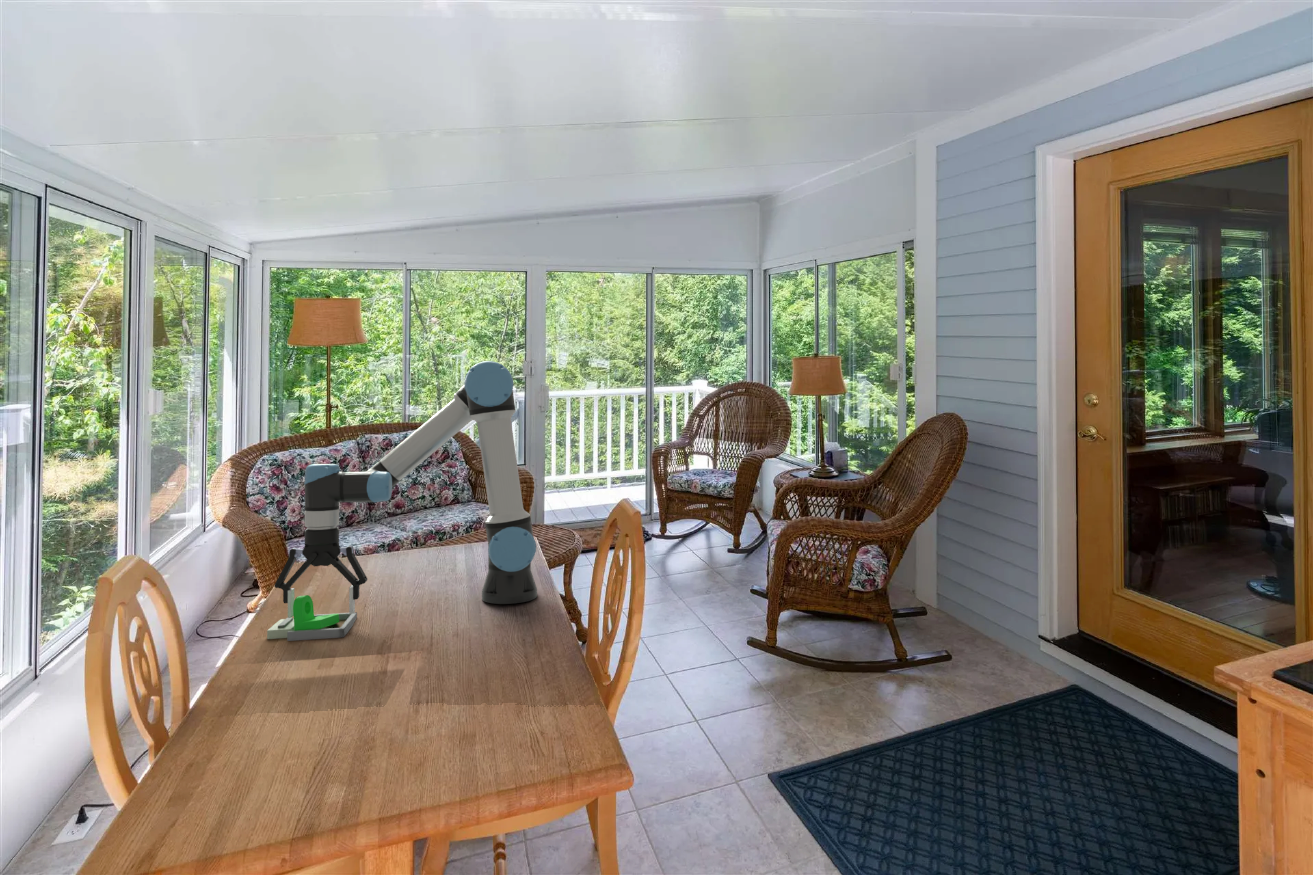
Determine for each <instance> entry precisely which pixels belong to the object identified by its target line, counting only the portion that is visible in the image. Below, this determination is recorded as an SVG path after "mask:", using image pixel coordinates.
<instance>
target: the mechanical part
mask: <svg viewBox="0 0 1313 875" xmlns="http://www.w3.org/2000/svg"><path fill="white" fill-rule="evenodd" d="M329 614H330V615H323V616H317V617H314V615H315V611H314V601H313V599H312V597H311V596H310V595H309V594H304V595H299V596H296V598H294V604H293V615H294V616H293V619H294V630H295V631H298V630H314V629H325V628H327V627H330V626H333V625H336V624H338V623H340V620H339V614H336V613H329Z"/></svg>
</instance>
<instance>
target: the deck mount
mask: <svg viewBox="0 0 1313 875" xmlns="http://www.w3.org/2000/svg"><path fill="white" fill-rule="evenodd" d="M330 614H331V613H324V614H323V613H322V614H314V617H317V616H323V615H330ZM335 614H339V621H344V620H345V621H344V622H343V623H342V624H341V626H340V627H334V628H333V627H331V628H321V629H314V630H298V631H295V630H294V617H291V618H288V617H286V618H280V619H279V620H278V621H276V623H274V624H273V625H272V626H270V628H268V629H267V630H266V639H267V640H273V639H274V640H275V639H286V640H287V642H289V641H290V642H291V641H293V642H294V641H307V640H320V639H321V640H323V639H335V638H337V639H339V638H345V637H346V635H347V634H348V633H349V631H350V630H351V628H352V627H353V625H354V624H355V621H356V620H357V618H358V612H357V611H356V612H354V613H353V614H349V612H339V613H337V612H336V613H335Z"/></svg>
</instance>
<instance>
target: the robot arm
mask: <svg viewBox="0 0 1313 875" xmlns="http://www.w3.org/2000/svg"><path fill="white" fill-rule="evenodd" d="M515 403H516V402H515V397H514V379H513V376H512V374H511V372H510V371H509V370H508V368H507V367H505V366H504V365H503V364H502V363H499V362H496V361H493V360H485V361H484V360H483V361H480V362H478V363H475V364H474V365H472V366H471V367H470V368H469V369H468V371H467V373H466V375H465V377H464V384H463V385H462V386H461V387H460V388H459V389H458V390H457V391H456V392H455V393H453V399H452V400H451V401H450V402H448V403H447V404H446V405H445V406H443V408H441V409H440V410H439V411H438V412H437V413H434V415H433V416H431V418H429V419H428V420H427V421H426V422H423V424H422V425H421V426H420V427H418V428H417V429H416V430H415V431H413V432H412V433H411V434H410V435H408V436H407V437H406V438H405V439H404V440H402V441H401V442H400V443H398V445H396V446H395V447H394V448H393V449H392V450H391V451H389V452H388V453H387V454H386V455H384V456H383V457H382V458H381V459H380V460H379V461H378V462H376V463H375V464H374V465H372V466H371V467H370V468H369V469H368V470H366V471H341V469H340V466H339V464H337V463H336V464H335V463H313V464H308V465H307V466H306V467H305V473H304V482H303V485H304V527H306V528H305V530H304V547H303V548H298V547H293V548H291V549H290V550H289V554H288V559H287V560H286V563H285V564H284V567H283V568H282V570H281V571H280V574H279V575H278V577H277V579H276V581H275V583H274V588H275V589H280V590H282V593H283V594H282V602H283V604H287V618H294V615H293V604H294V600H295V587H293V588H292V586H293V585H294V584H295V583H296V582H297V581H298V580H299V578H300V577H301V576H302V575H303V574H304V573H305V571H307V569H308V568H309V567H310V566H313V567H320V566H323V567H329V566H330V565H331V566H333V567H334V568H335V569H336V570H337V571H338V572H339V573H340V574H341V575H342V576H343V577H344V578H345V579H346V580H347V581H348V582H349V584H351V585H350V587H348V588H349V590H348V591H349V592H348V593H349V595H348V601H349V603H348V608H349V609H348V613H349V614H353V613H354V612H355V611H356V605H355V604H356V600H358V599H359V598H360V585H364V584H365V583H366V582H368V577H367V575H366V573H365V572H364V569H363V568H362V566H361V564H360V562H359V561H358V559H357V557H356V555H355V550H354V546H353V545H351V544H350V545H348V546H343V547H341V546H340V528H339V527H338V526H339V525H340V503H379V502H380V503H381V502H388V501H390V500H391V499H392V494H393V487H395V486H396V485H397V484H398V483H399V482H400V481H401V480H403V479H404V478H406V476H408V475H409V474H410V473H411V472H412V471H414V470H415V469H416V468H417V467H418V466H420V464H422V463H423V462H424V461H425V460H426V459H428V458H429V457H430V456H432V454H434V453H435V452H437V450H439V449H441V447H442V446H443V445H445V444H446V443H447V442H448V441H450V440H451V439H452V438H453V437H454V436H455V435H456V434H458V433H459V432H460V431H462V429H464V428H465V427H466V426H468V425H469V424H470V422H472V421H475V422H476V424H477V432H478V440H479V447H480V454H481V460H482V467H483V474H484V475H483V476H484V480H485V482H484V483H485V490H486V495H487V502H488V503H487V504H488V510H489V515H488V517H487V518H486V519H485V520H484V523H485V524H484V525H485V532H486V538H487V539H486V540H487V546H488V549H487V556H488V557H487V558H488V559H487V560H488V563H487V566H488V567H487V568H488V569H487V570H488V571H487V575H486V577H485V580H484V583H483V587H482V590H481V601H483V602H485V603H490V604H494V605H495V604H499V605H510V604H520V603H525V602H526V603H527V602H529V601H533V600H535V599H536V598H537V597H538V587H537V585H536V580H535V579H534V576H533V575H534V574H533V572H532V564H531V563H532V561H533V559H534V558H535V555H536V552H537V543H536V540H535V537H534V533H533V526H532V525H533V524H532V519H531V514H530V513H529V512H528V511H526V510H525V509H524V504H523V497H522V489H521V482H520V475H519V468H518V460H517V454H516V447H515V440H514V432H513V425H512V417H513V416H514V414H515V413H516V404H515ZM341 553H342V554H343V555H344V556H345V557H347V560H348V563H350V565H351V568H352V569H353V571H354V573H355V575H354V573H353V572H352V571H351V570H349V568H348V567H347V566H346V565H345V564H344V563H343V562H342V560H341V559H340V558H339V557H338V556H340V554H341ZM301 555H303V557H304V558H305V559H306V560H305V561H304V562H303V563H302V565H301V566H300V567H299V568H298V569H297V571H295V572H294V574H293V575H292V576H291V577H290V578H289V579H288V580H287V581H286V582H285V580H286V579H287V577H288V575H289V573H290V572H291V570H292V568H293V566H294V564H295V562H296V561H297V558H299V557H300V556H301ZM356 576H357V577H356Z"/></svg>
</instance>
